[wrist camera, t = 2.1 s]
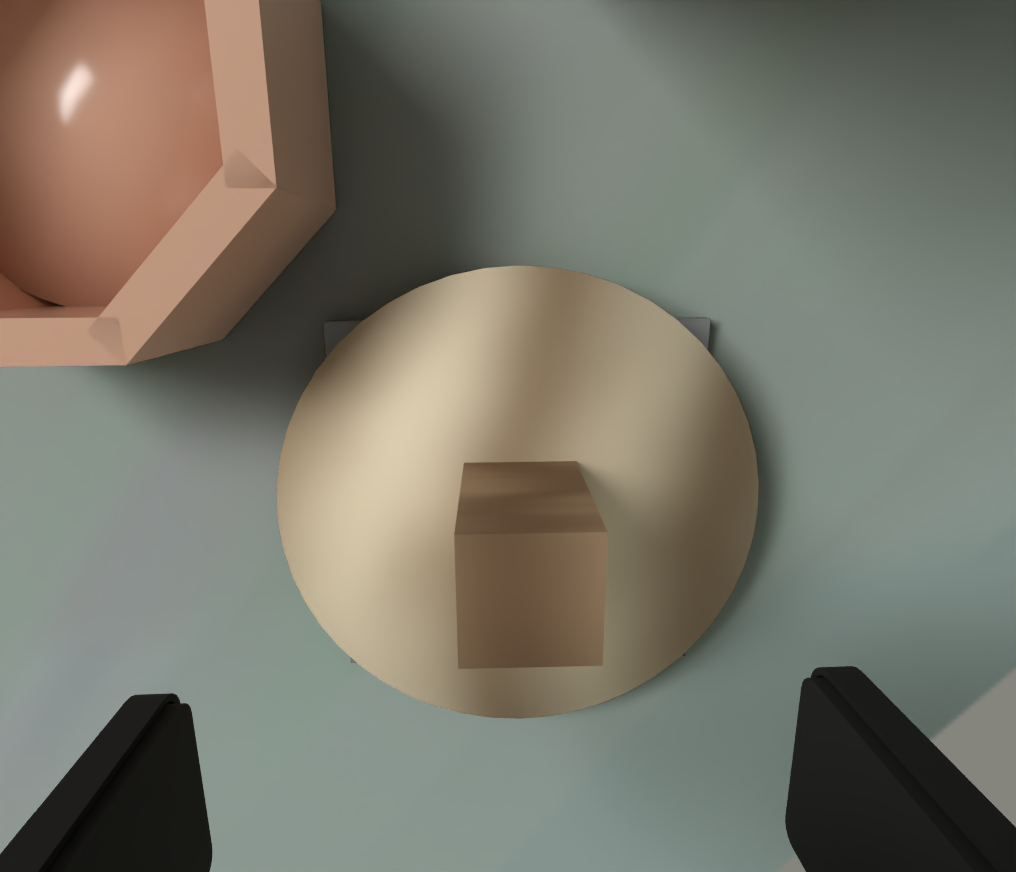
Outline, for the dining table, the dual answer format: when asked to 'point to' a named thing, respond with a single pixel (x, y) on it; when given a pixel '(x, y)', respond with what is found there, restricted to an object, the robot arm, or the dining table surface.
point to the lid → (517, 492)
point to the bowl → (153, 170)
